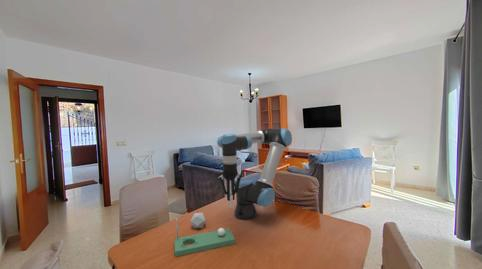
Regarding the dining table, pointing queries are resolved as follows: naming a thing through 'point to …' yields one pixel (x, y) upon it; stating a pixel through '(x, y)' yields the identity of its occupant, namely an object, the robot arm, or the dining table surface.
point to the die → (198, 220)
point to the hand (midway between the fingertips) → (231, 205)
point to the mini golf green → (202, 241)
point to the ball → (221, 231)
